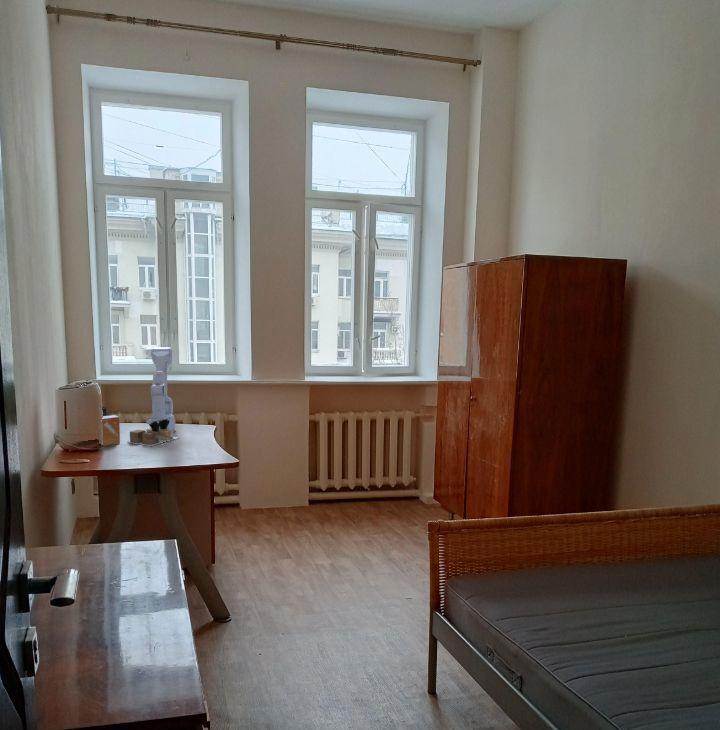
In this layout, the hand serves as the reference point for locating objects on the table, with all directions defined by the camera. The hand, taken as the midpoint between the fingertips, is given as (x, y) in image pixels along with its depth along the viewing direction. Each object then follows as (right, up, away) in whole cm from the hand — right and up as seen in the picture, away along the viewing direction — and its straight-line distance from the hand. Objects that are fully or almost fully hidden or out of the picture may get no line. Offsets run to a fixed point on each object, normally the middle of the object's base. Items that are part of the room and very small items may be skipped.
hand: (159, 435), depth 278 cm
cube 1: (-8, -2, -7) cm, 11 cm away
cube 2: (0, -2, -11) cm, 11 cm away
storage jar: (-31, -2, +1) cm, 31 cm away
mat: (-2, -2, -3) cm, 4 cm away
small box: (-20, -3, -10) cm, 23 cm away
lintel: (0, -1, 0) cm, 1 cm away
